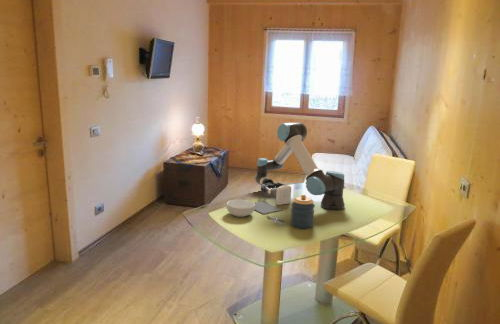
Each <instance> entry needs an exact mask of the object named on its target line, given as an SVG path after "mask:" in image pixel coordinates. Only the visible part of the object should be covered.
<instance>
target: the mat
mask: <svg viewBox="0 0 500 324" xmlns="http://www.w3.org/2000/svg"><path fill="white" fill-rule="evenodd" d="M253 203H255V209H254V211H255V210H256V211H255V212H257V211H258V212H257V213H259V212H260V213H259V214H261V213H262V214H261V215H263V214H264V215H266V214H265V213H269V214H271V213H270V212H273V213H276V212H275V211H278V212H281V211H280V210H282V211H283V209H282V208H280V207H278V206H275V205H273V204H271V203H268V202H266V201H264V200H259V201H256V202H253Z"/></svg>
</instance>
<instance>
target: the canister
mask: <svg viewBox="0 0 500 324" xmlns="http://www.w3.org/2000/svg"><path fill="white" fill-rule="evenodd" d="M290 203H291V208H290V220H289V223H290V225H291V226H292V227H293V228H297V229H303V230H304V229H305V230H306V229H311V228H312V227H313V225H314V216H315V215H314V214H315V209H314V208H315V204H314V200H313V199H312V198H311V197H308V196H306V194H301V195H300V196H297V197H295V198H293V199H292V201H291V202H290Z"/></svg>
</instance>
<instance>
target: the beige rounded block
mask: <svg viewBox="0 0 500 324" xmlns="http://www.w3.org/2000/svg"><path fill="white" fill-rule="evenodd" d="M291 196H292V187H291V185H288V184H285V185H283V186H280V187H278V188H276V196H275V197H276V200H275V204H276V205H278V206H281V205H287V204H290V203H291V202H292V201H291V198H292V197H291Z"/></svg>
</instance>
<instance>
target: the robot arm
mask: <svg viewBox="0 0 500 324" xmlns="http://www.w3.org/2000/svg"><path fill="white" fill-rule="evenodd" d="M276 136H277V138H278V140H279V141H280V142H284V145H283V146H282V147H281V148H280V149H279V151H278V153H277V154H276V155H274V156H275V157H273V159H269V160H268V159H267V158H265V157H264V158H263V157H260V158H257V162H256V174H255V175H254V181H255V182H256V183H257V184H258V185H260V191H261V192H262V191H263V192H264V193H268V194H269V195H271V192H272V189H277V188H278V187H280V186H283V185H286V184H285V183H280V182H274V180H273V179H271V178H270V177H268V171H276V170H281V169H283V167H284V164H285V163H284V162H285V161H286V160H287V159H288V158H289V156H290V155H291V154H292V153H293V155H294V156H295V158H296V160H297V162H298V163H299V165H300V167H301V169H302V170H303V172H304V174H305V187H306V190H307V191H308V193H309V194H310V195H312V196H322V195H323V197H322V199H321V201H320V207H321V208H323V209H326V210H330V211H341V210H344V209H345V207H346V206H345V205H346V204H345V201H344V187H345V174H344V173H343V172H338V171H335V170H334V171H333V170H327V171H326V172H323V171H324V170H322V169H320V168H318V166H317V165H316V163H315V161H314V159H313V158H312V156H311V154H310V152H309V151H308V149H307V147H306V146H305V144H304V141H305V140H306V138H307V136H308V128H307V126H306V125H305V124H304V123H302V122H299V121H297V122H283V123H280V124H279V126H277V131H276Z"/></svg>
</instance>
